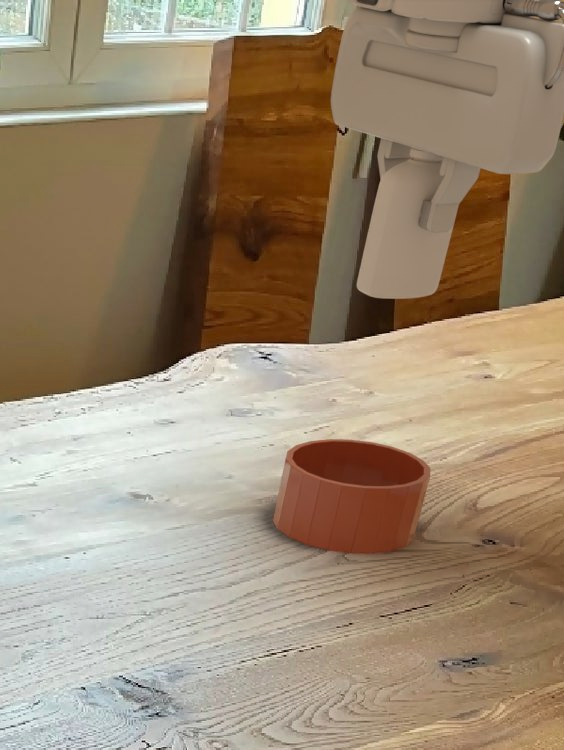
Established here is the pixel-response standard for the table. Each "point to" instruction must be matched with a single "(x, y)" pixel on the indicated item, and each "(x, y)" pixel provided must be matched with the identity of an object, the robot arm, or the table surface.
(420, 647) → the table surface
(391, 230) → the eye dropper bottle
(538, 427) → the table surface
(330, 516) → the cup
